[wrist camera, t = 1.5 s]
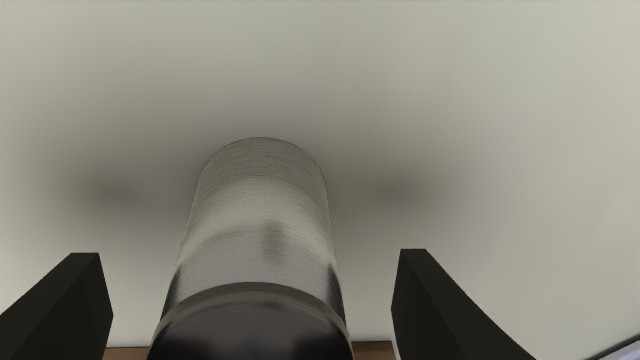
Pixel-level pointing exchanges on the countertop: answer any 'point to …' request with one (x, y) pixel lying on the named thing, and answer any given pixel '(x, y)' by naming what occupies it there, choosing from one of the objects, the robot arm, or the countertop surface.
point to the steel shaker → (256, 263)
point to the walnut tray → (367, 355)
